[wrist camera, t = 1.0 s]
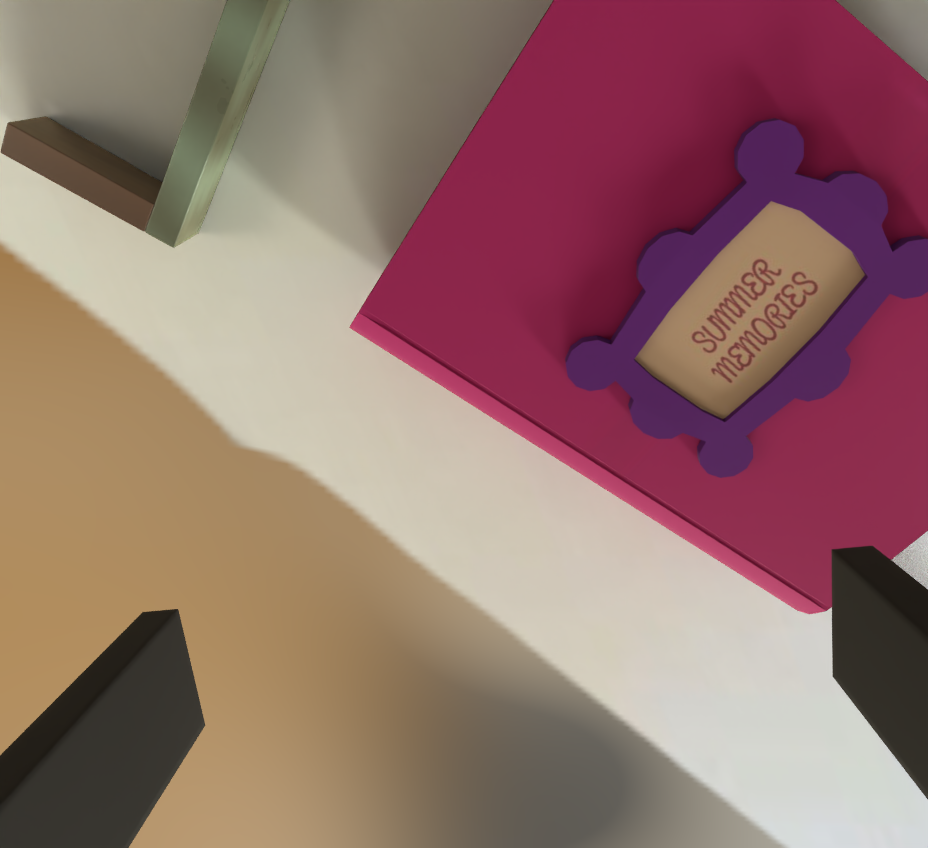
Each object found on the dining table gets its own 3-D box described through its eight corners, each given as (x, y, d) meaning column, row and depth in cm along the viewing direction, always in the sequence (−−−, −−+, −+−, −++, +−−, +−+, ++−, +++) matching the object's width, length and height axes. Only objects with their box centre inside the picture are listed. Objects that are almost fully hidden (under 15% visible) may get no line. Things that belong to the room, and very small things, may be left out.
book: (766, 548, 44) (809, 640, 37) (367, 290, 38) (334, 344, 31) (1085, 266, 35) (1219, 320, 28) (627, -127, 29) (658, -176, 22)
